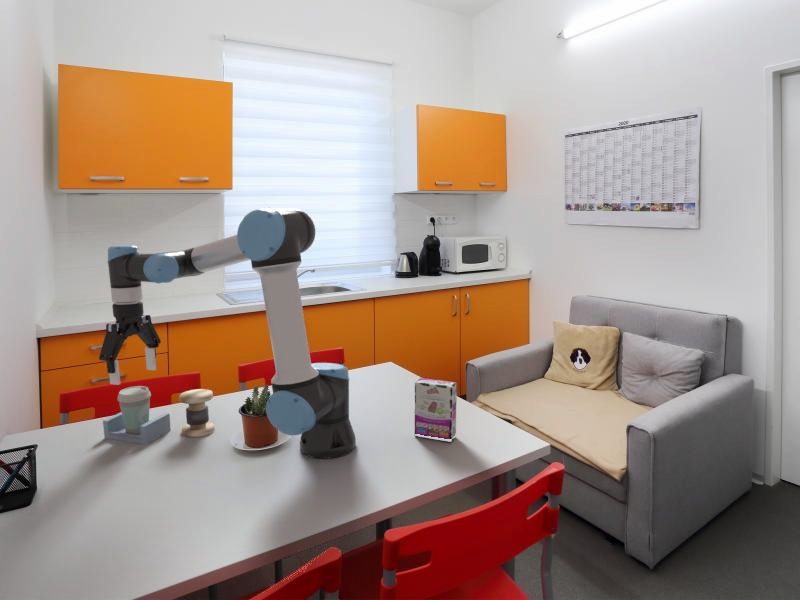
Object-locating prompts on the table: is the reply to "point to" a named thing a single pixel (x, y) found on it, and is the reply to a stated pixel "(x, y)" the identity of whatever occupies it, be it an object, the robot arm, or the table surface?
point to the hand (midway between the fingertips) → (134, 376)
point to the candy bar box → (435, 408)
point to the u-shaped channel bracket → (148, 431)
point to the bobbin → (197, 413)
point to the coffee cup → (134, 407)
